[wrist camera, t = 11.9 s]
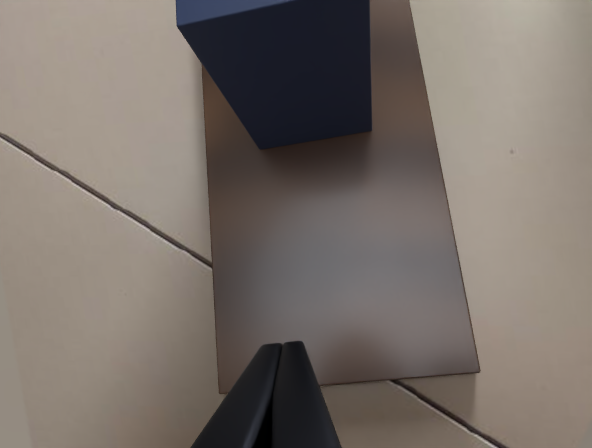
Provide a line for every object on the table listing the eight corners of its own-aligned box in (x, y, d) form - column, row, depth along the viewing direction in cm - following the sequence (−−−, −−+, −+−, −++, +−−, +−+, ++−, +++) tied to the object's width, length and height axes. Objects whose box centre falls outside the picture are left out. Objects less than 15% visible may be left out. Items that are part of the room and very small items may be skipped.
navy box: (370, -17, 12) (336, -216, 14) (175, 26, 13) (168, -166, 15) (373, 131, 22) (352, -1, 24) (259, 150, 23) (248, 22, 25)
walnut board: (476, 370, 19) (481, 372, 19) (224, 391, 21) (218, 394, 21) (400, -30, 25) (401, -41, 24) (203, 14, 27) (198, 5, 26)
